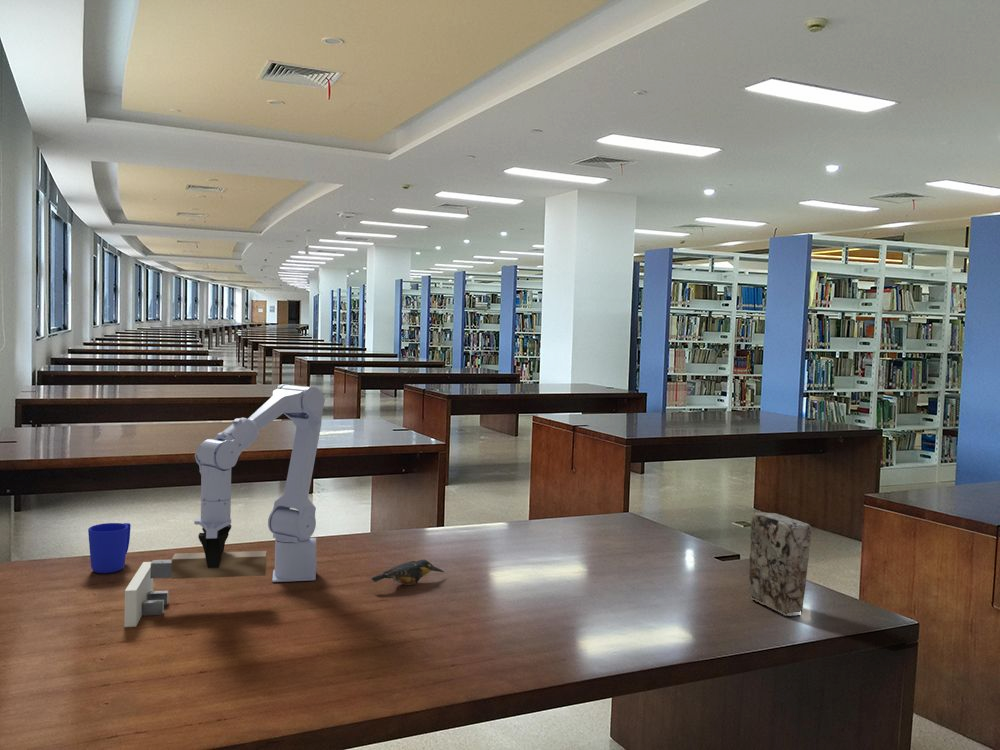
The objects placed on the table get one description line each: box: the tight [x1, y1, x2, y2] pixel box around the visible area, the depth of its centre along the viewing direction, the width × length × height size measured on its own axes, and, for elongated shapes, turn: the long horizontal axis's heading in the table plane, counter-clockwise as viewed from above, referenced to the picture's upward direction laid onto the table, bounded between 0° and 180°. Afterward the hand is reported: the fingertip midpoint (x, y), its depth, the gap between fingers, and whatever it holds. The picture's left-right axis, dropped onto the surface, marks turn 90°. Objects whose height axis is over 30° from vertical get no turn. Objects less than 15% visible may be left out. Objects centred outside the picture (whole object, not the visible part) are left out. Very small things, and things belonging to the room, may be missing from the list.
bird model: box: [369, 559, 445, 586], centre depth 177 cm, size 20×5×5 cm, turn 131°
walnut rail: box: [150, 550, 267, 580], centre depth 160 cm, size 22×4×4 cm, turn 104°
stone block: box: [748, 511, 812, 614], centre depth 171 cm, size 13×7×20 cm, turn 26°
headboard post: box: [124, 561, 169, 628], centre depth 156 cm, size 6×18×7 cm, turn 14°
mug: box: [87, 522, 132, 574], centre depth 181 cm, size 8×12×10 cm
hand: (214, 564), depth 160 cm, fingers closed on walnut rail, 4 cm apart
